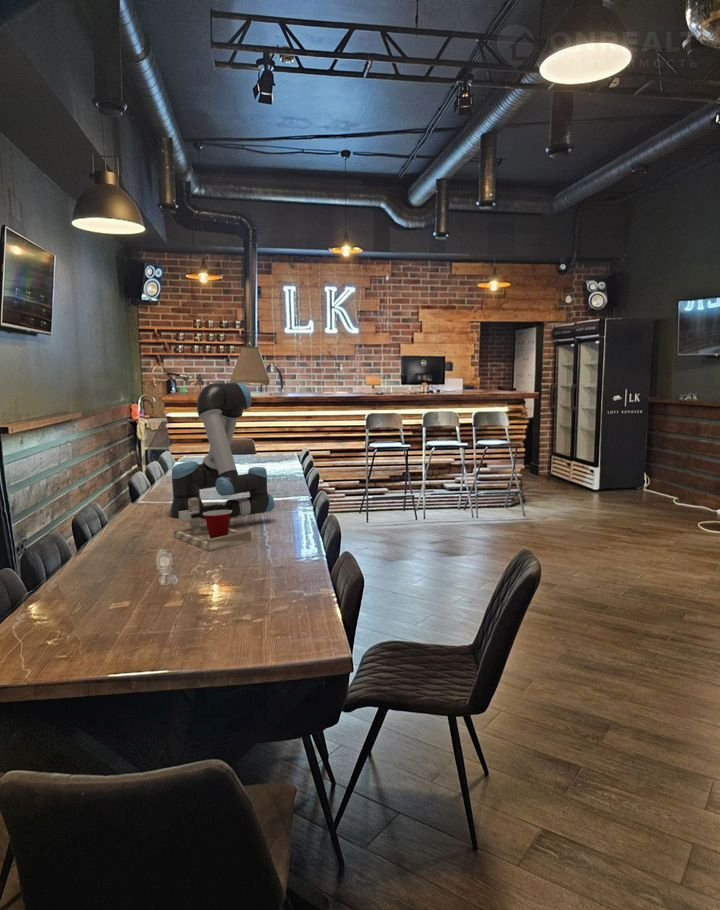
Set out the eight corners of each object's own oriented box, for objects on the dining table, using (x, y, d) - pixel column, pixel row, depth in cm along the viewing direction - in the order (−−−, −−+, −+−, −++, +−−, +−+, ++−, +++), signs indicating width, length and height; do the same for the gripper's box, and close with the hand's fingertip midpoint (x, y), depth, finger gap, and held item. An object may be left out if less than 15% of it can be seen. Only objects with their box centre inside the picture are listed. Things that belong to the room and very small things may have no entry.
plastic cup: (231, 537, 225) (229, 506, 224) (236, 544, 215) (234, 512, 214) (202, 540, 221) (200, 509, 220) (206, 548, 211) (204, 515, 210)
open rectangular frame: (173, 536, 227) (171, 501, 225) (213, 528, 238) (211, 494, 236) (210, 551, 206) (207, 512, 204) (251, 541, 218) (249, 504, 216)
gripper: (245, 520, 234) (187, 529, 221) (230, 512, 247) (175, 521, 235) (244, 502, 233) (186, 510, 220) (229, 495, 246) (173, 503, 234)
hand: (180, 516), depth 227 cm, fingers closed on open rectangular frame, 3 cm apart
